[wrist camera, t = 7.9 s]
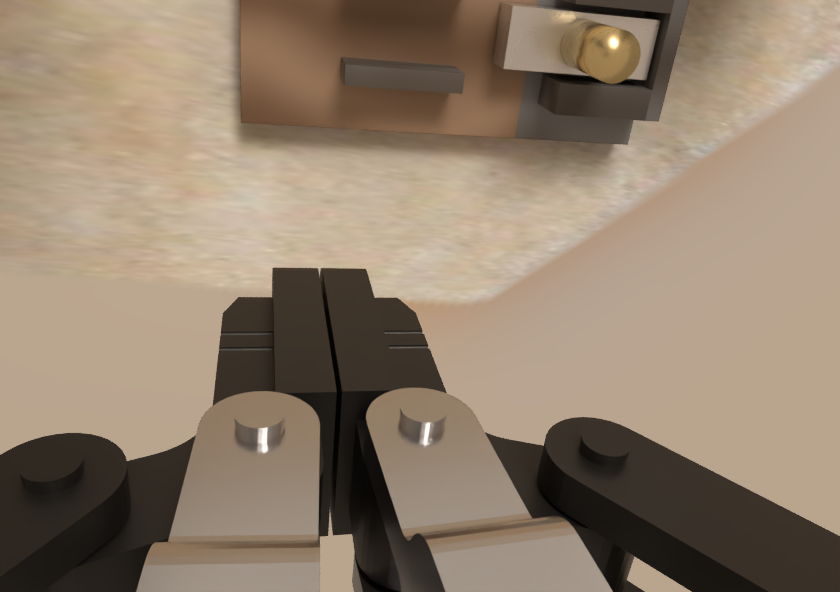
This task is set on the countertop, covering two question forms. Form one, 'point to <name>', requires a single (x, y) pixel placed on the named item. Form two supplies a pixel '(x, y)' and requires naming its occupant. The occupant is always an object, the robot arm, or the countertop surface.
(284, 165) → the countertop surface
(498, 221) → the countertop surface
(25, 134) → the countertop surface
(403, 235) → the countertop surface
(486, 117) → the door board
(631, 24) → the lock bolt
